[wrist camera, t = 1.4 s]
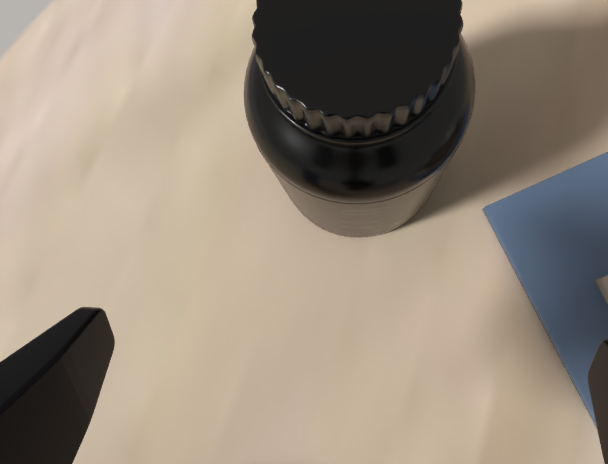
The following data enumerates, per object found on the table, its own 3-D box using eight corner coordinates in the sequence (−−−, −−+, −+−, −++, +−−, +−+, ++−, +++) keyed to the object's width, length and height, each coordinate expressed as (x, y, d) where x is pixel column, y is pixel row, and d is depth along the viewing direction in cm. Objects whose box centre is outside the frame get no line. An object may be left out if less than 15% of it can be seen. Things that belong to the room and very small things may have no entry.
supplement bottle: (258, 136, 24) (161, -39, 12) (391, 69, 24) (421, -172, 12) (323, 269, 23) (283, 214, 11) (464, 199, 23) (576, 69, 11)
